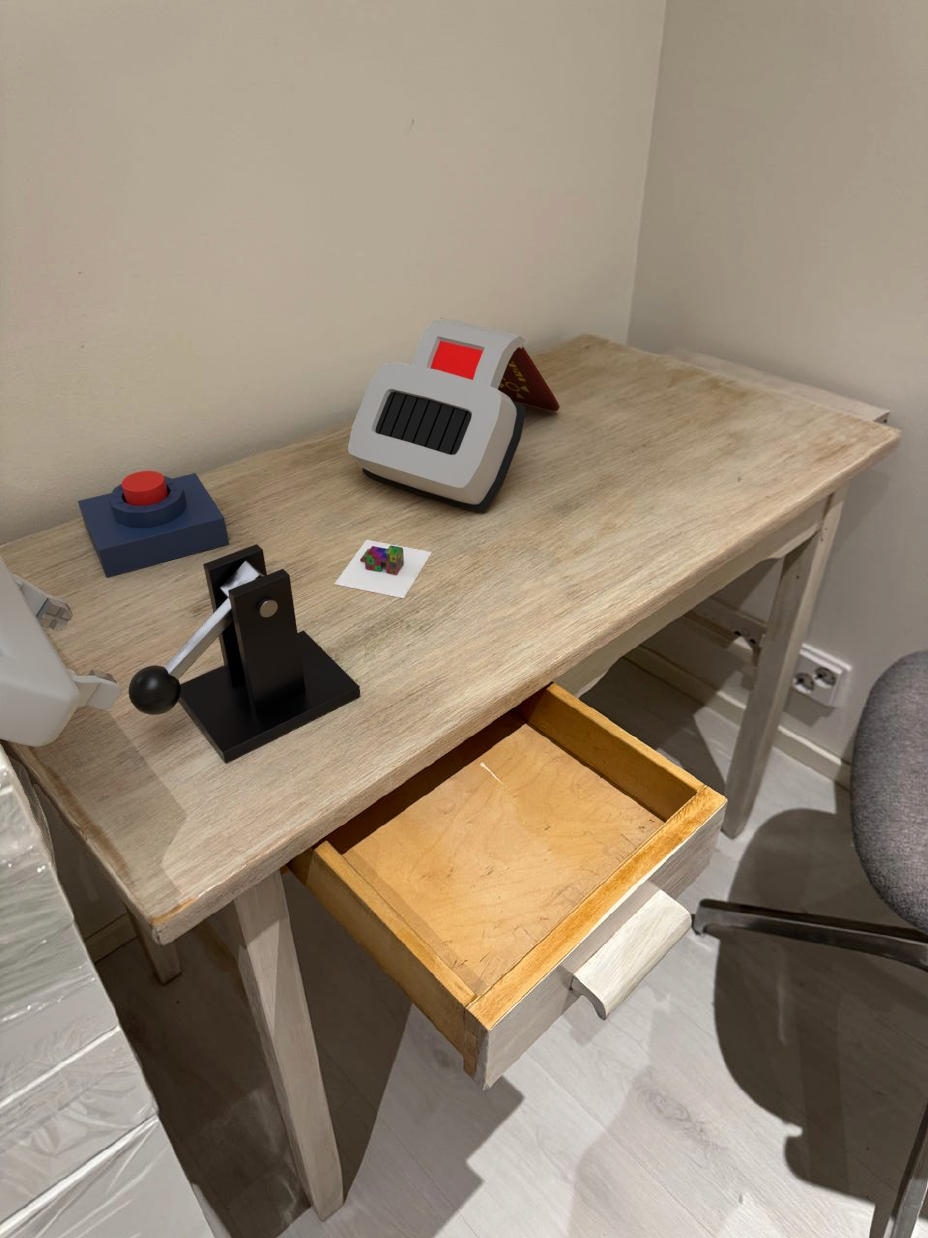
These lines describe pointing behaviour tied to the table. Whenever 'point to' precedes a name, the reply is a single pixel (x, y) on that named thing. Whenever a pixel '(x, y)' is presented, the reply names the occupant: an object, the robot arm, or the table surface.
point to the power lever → (184, 655)
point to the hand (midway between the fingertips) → (88, 653)
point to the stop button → (144, 488)
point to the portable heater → (449, 414)
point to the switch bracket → (261, 665)
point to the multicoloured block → (383, 568)
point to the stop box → (153, 526)
